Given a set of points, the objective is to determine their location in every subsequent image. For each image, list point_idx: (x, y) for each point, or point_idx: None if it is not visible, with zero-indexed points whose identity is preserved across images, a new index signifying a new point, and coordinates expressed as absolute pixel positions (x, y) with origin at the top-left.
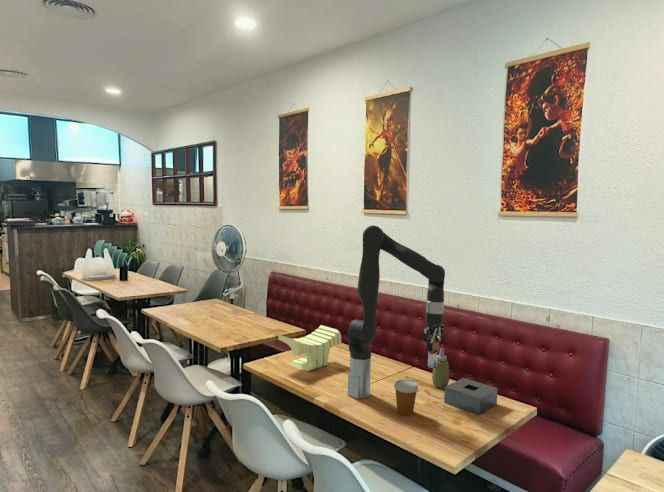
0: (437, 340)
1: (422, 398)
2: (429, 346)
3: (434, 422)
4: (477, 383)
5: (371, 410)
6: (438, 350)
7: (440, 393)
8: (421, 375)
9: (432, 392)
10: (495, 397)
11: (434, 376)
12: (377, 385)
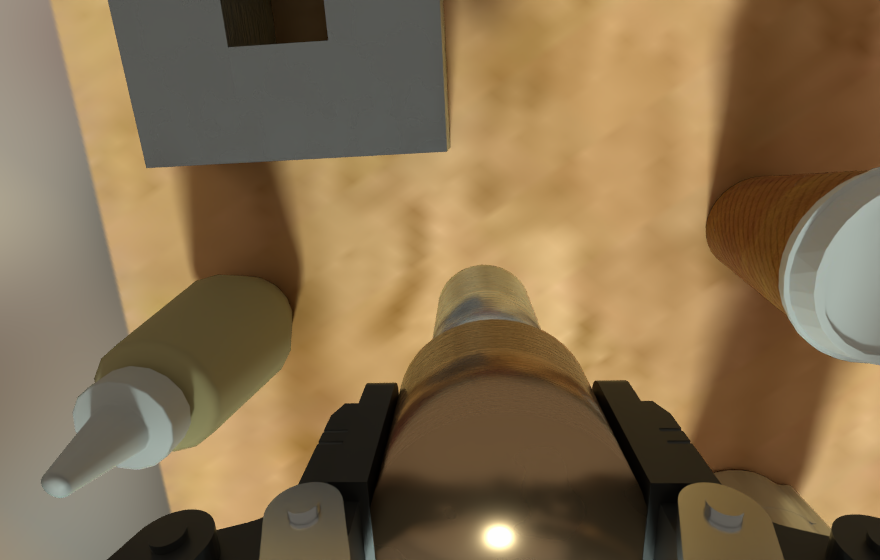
0: (358, 522)
1: None
2: (700, 458)
3: (764, 6)
4: (140, 4)
5: None
6: (455, 336)
7: (346, 247)
8: (222, 470)
9: (375, 288)
10: None
11: (278, 357)
12: None
